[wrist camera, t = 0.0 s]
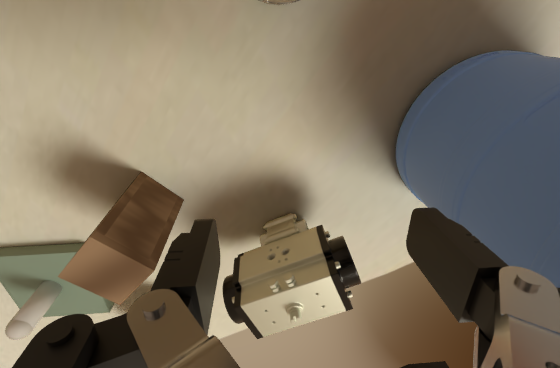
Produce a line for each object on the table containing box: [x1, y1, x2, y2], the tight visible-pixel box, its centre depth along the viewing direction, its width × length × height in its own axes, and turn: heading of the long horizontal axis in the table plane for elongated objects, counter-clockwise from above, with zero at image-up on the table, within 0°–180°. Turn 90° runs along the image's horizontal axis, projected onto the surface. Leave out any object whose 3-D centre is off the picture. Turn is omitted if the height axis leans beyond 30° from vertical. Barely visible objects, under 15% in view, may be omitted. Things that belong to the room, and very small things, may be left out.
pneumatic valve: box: [223, 213, 361, 339], centre depth 28 cm, size 6×12×12 cm, turn 112°
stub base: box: [0, 243, 114, 340], centre depth 31 cm, size 10×10×8 cm
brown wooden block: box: [58, 172, 184, 305], centre depth 26 cm, size 5×5×10 cm
